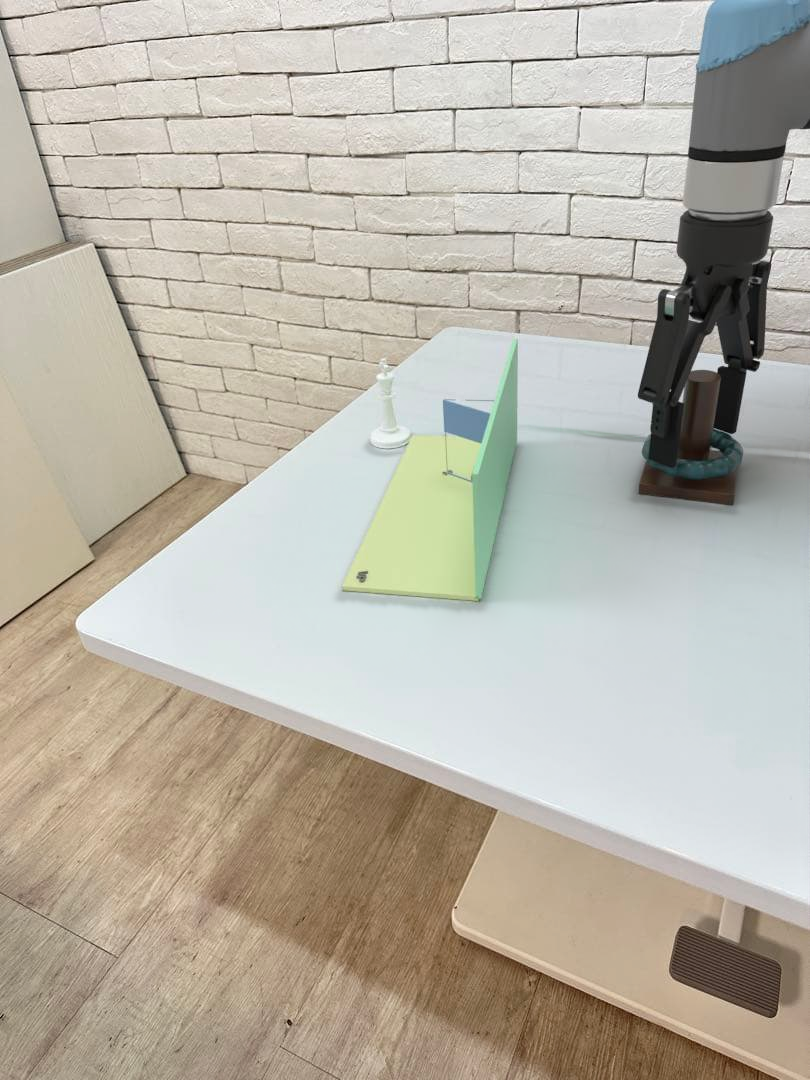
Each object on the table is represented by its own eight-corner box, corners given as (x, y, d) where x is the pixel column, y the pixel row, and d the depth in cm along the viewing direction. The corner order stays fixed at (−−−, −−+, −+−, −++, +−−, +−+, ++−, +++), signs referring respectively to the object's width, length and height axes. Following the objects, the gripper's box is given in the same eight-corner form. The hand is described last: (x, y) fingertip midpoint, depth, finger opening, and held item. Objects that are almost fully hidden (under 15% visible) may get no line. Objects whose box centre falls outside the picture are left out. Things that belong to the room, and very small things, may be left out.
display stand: (481, 601, 68) (478, 474, 61) (342, 590, 71) (324, 467, 64) (517, 442, 92) (517, 338, 85) (412, 438, 95) (405, 337, 88)
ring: (743, 443, 83) (746, 427, 82) (738, 487, 76) (741, 471, 75) (648, 433, 87) (650, 418, 86) (635, 475, 79) (637, 459, 78)
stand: (737, 462, 84) (755, 361, 78) (733, 505, 78) (752, 398, 71) (650, 453, 88) (660, 355, 81) (638, 493, 81) (648, 390, 75)
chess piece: (400, 426, 98) (393, 348, 92) (418, 441, 94) (412, 360, 88) (363, 436, 96) (354, 357, 91) (380, 452, 92) (372, 370, 87)
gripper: (759, 183, 76) (724, 401, 88) (607, 229, 65) (591, 470, 78) (837, 191, 71) (787, 421, 83) (686, 242, 60) (655, 498, 73)
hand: (693, 445), depth 80 cm, fingers closed on ring, 9 cm apart
